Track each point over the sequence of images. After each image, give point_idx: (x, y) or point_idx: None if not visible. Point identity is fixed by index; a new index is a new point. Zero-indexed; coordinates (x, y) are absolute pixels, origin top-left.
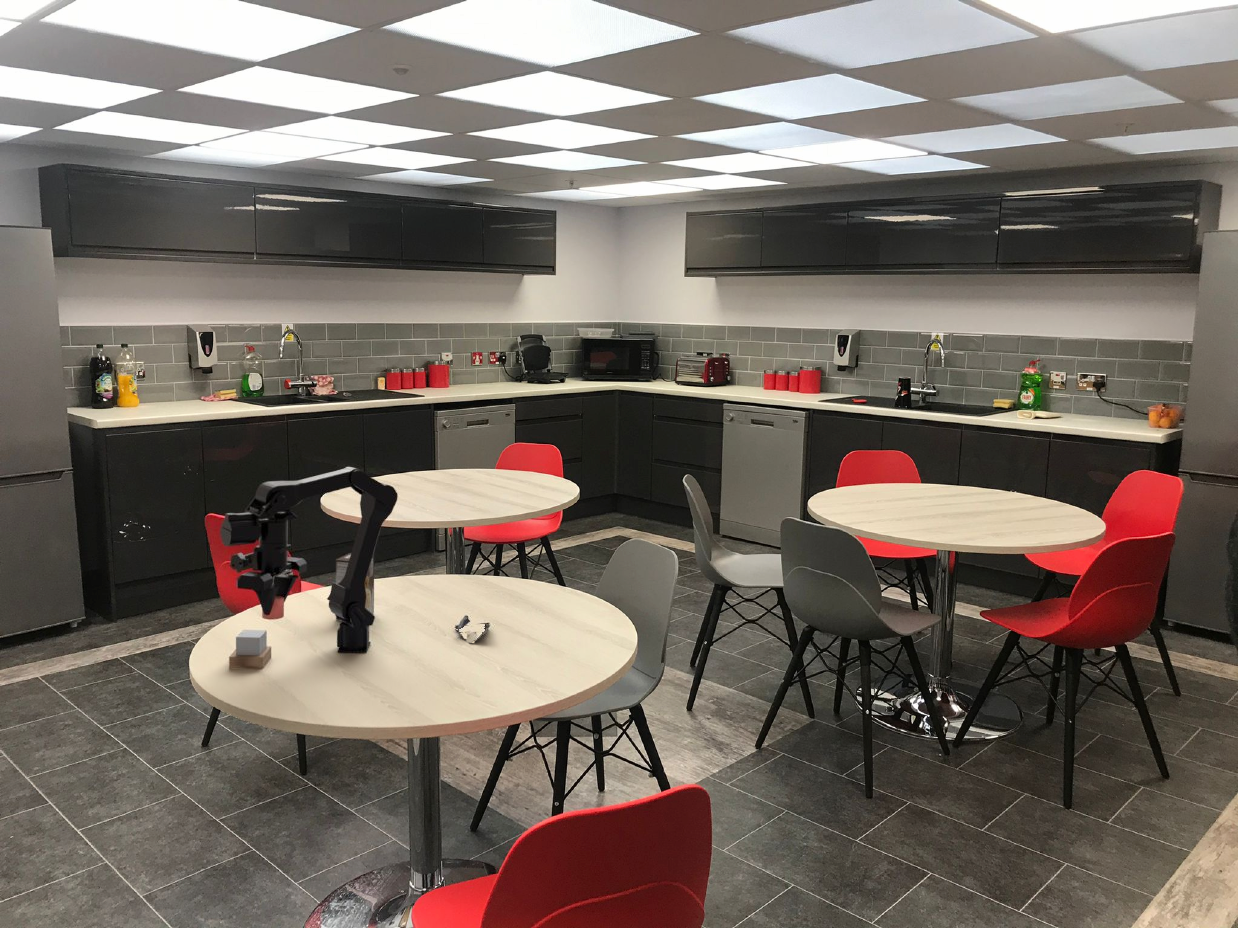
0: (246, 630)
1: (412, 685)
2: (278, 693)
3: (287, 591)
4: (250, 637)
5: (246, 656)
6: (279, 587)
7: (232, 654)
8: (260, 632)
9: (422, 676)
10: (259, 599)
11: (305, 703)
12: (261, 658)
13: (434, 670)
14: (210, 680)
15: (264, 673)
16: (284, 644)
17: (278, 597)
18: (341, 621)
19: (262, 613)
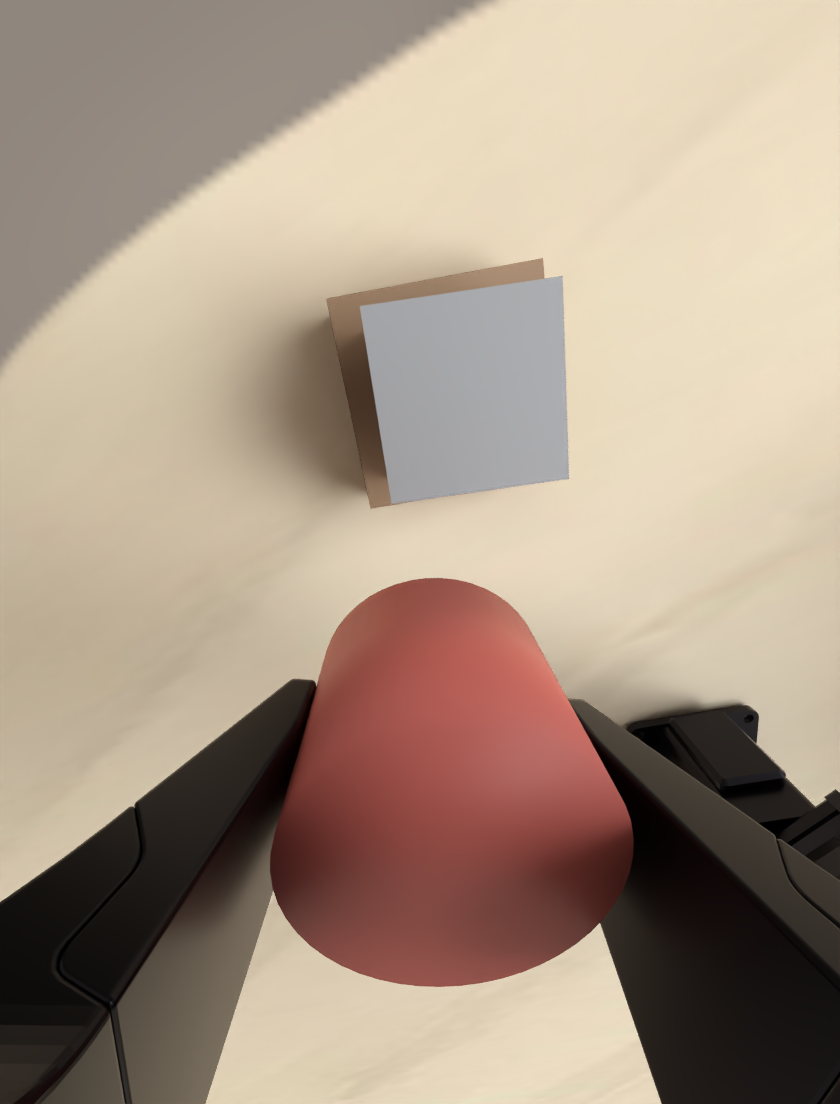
0: (544, 315)
1: (336, 1003)
2: (116, 680)
3: (658, 1089)
4: (380, 433)
5: (359, 409)
6: (767, 1077)
7: (371, 300)
8: (511, 455)
9: (418, 1006)
10: (99, 843)
11: (68, 799)
12: (370, 499)
13: (476, 1019)
14: (138, 297)
15: (314, 530)
16: (746, 447)
17: (537, 906)
18: (797, 817)
19: (357, 625)
